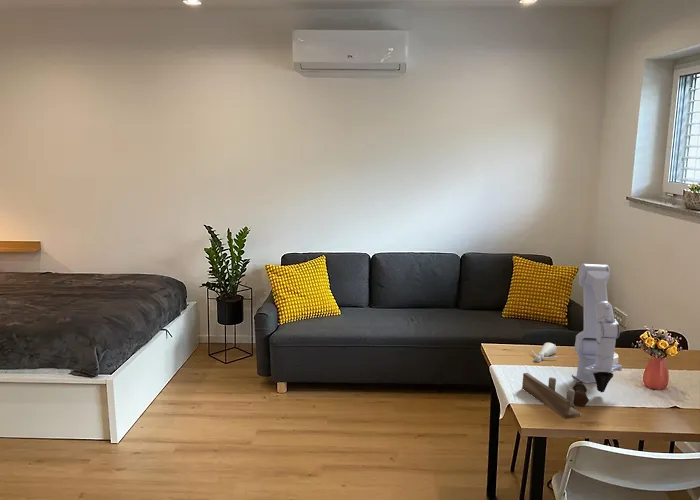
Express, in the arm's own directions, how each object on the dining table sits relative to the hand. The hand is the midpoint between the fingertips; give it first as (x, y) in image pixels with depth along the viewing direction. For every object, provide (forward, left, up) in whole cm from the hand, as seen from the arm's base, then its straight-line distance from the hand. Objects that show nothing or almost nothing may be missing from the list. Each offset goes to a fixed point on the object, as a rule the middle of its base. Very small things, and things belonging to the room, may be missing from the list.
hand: (600, 391), depth 213 cm
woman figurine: (-4, -39, -2) cm, 39 cm away
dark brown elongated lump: (+8, -1, -2) cm, 9 cm away
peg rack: (+20, 0, -2) cm, 21 cm away
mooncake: (-26, -29, -2) cm, 39 cm away
